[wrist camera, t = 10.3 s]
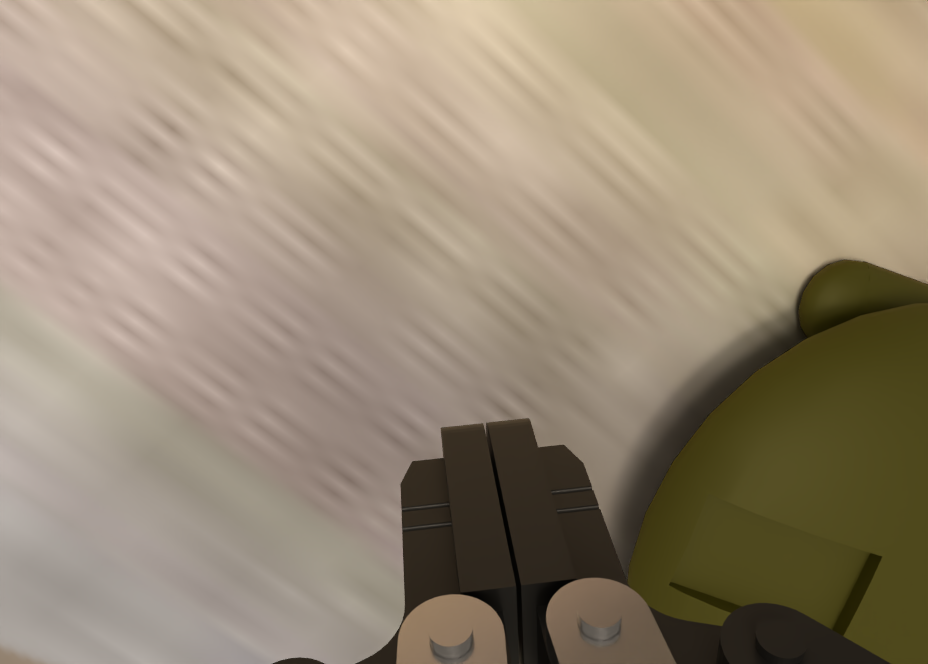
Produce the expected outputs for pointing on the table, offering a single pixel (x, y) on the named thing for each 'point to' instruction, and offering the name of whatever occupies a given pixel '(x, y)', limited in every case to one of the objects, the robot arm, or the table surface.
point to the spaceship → (810, 478)
